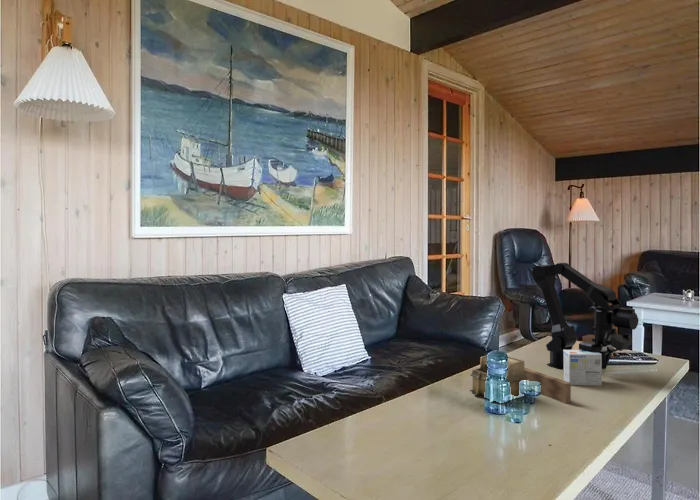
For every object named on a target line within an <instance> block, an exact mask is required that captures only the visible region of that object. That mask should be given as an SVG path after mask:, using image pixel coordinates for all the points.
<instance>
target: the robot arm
mask: <svg viewBox="0 0 700 500" xmlns="http://www.w3.org/2000/svg"><path fill="white" fill-rule="evenodd" d="M557 275H559V276H562V277H564V278H565V279H566V280H568V282H570V283H572V284H573V285H575V286H576V287H578V288H579V289H581V291H583V292H584V294H586V296H587V298H588V299H589V300H590V301H591V302H592V303H593V304H592V306H591V307H589V308H588V311H591V312H594V326H592V327H591V330H592V331H594V337H593V338H591V341H589V340H587V341H581V342H580V343H578V350H584V351H588V352H592V353H596V352H599V353H601V354H602V370H606V369H607V367H608V364H609V361H610V359H611V357H612V355H613V354H614V353H615V352H617V351H620V352H622V351H624V350H628V348H629V347H630V346H631V345H632V344H633V339H632V338H633V337H632V335H631V334H629V333H624V334H623V335H622V334H619V333H618V332H617V331H618V330H617V328H620V329H628V330H636V329H637V328H638V325H639V317H638V314H637V313H636V310H635V308H626V307H624V306H623V304H622V303H621V301H620V300H619V299H618V297H617V294H616V291H614V290H613V289H612V288H609V287H607V286H605V285H602V284H601V283H600V284H599V283H597V282H594V281H593V280H591V279H590V278H588V276H586V275H584V274H583V273H581V272H580V271H578V270H577V269H575V268H574V267H573V266H571V265H570V264H569V263H567V262H557V263H554V264H552V265H549V264H543V265H542V264H541V265H535V266H534V267H533V268H532V270H531V277H532V279H533V280H534V283H535V284H536V285H537V286H538V288H540V290H541V292H542V295H543V299H544V302H545V306H546V307H547V312H548V315H549V317H550V321H551V325H552V327H551V328H552V329H551V332H550V335H551V340H550V341H549V342H547V343H546V345H545V348H546V350H547V351H548V352H549V363H546V365H547V366H549V367H552V368H555V369H556V368H557V369H559V370H560V369H561V370H564V354H563V350H573V346H574V345H575V344H576V342H577V337H578V335H577V334H576V331H575V326H574V325H569V324H568V323H567V321H566V318H565V314H564V312H563V309H562V306H561V303H560V299H559V296H558V293H557V290H556V287H555V285H556V279H557V278H556V276H557Z"/></svg>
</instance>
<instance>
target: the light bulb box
mask: <svg viewBox="0 0 700 500" xmlns="http://www.w3.org/2000/svg"><path fill="white" fill-rule="evenodd" d="M563 354H564V369H563V381H566V382H569V383H571V386H602V385H603V379H602V376H603V374H602V373H603V372H602V371H603V369H602V354H601V353H599V352H596V353H592V352H588V351H584V350H579V349H571V350H563Z"/></svg>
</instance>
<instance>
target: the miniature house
mask: <svg viewBox="0 0 700 500" xmlns="http://www.w3.org/2000/svg"><path fill="white" fill-rule="evenodd" d="M506 356H507V355H506ZM507 357H508V372H507V378H508V380H509V382H510V387H511V394H512V395H514V396H518V395H519V382H520V381H521V380H524V378H527V377H526V376H525V374H524V368H525V360H524V359H518V358H516V357H511V356H507ZM479 359H480V360H479V362H480V363H479V366H478V367H477V368H474V369H473V368H472V372H471V374H469V376H471V377H472V389H469V392H471V393H472V395H474V397H475V398H476V397H477V398H483V397H484V392H485V381H486V377H487V355H484V356H480V358H479ZM480 396H481V397H480Z"/></svg>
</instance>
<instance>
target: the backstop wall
mask: <svg viewBox="0 0 700 500" xmlns="http://www.w3.org/2000/svg"><path fill="white" fill-rule="evenodd" d="M524 374H525V376H526V377H527V378H524V380H529V381H538V382H540V383H541V393H542V394H541V395H542V396H545V397H547V398H549V399H550V398H551V399H553V400H556V401H559V402H561V403H563V404H570V403H571V401H572V400H571V397H572V396H571V395H572V390H571V387H572V385H571V383H569V382H566V381H565V380H564V379H561V378H557V377H555V376H551V375H548V374H545V373H542V372H538V371H536V370H532V369H530V368H526V367H524Z"/></svg>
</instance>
